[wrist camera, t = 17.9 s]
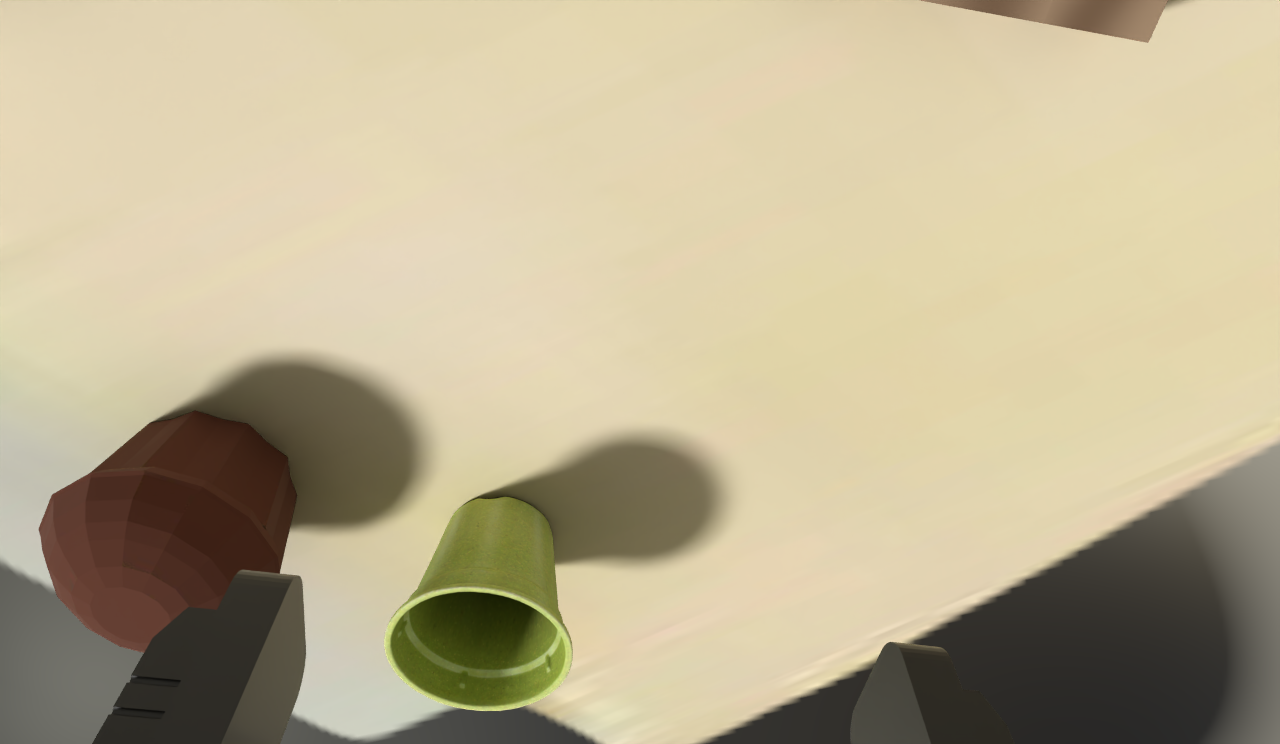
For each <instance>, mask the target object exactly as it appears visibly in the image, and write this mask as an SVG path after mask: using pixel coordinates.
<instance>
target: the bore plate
mask: <svg viewBox="0 0 1280 744" xmlns="http://www.w3.org/2000/svg"><path fill="white" fill-rule="evenodd" d="M921 1H926V2H932V3H937V4H942V5H948V6H953V7H959V8H964V9H969V10H975V11H980V12H986V13H991V14H996V15H1002V16H1007V17H1013V18H1018V19H1023V20H1029V21H1034V22H1039V23H1045V24H1050V25H1056V26H1061V27H1066V28H1072V29H1077V30H1083V31H1088V32H1093V33H1099V34H1104V35H1110V36H1115V37H1120V38H1126V39H1131V40H1136V41H1142V42H1147V43H1148V42H1149V40H1150V38H1151V36H1152V33H1153V31H1154V29H1155V27H1156V25H1157V23H1158V20H1159V18H1160V16H1161V14H1162V12H1163V10H1164V7H1165V5H1166V3H1167V1H1168V0H921Z"/></svg>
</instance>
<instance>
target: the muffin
mask: <svg viewBox="0 0 1280 744" xmlns="http://www.w3.org/2000/svg"><path fill="white" fill-rule="evenodd" d="M296 498H297V494H296V491H295V489H294V486H293V483H292V480H291V478H290V472H289V464H288V457H287V456H285V455H284V454H283V453H281V452H280V451H279V450H277V449H276V448H274V447H273V446H272V445H270V444H269V443H268V442H266V441H265V440H264V439H263V438H262V437H261V436H260V435H259V434H258V433H257V432H256V431H255V430H254V429H253V428H252V427H251V426H250V425H249V424H246V423H241V422H235V421H230V420H224V419H220V418H217V417H214V416H211V415H208V414H205V413H202V412H198V411H192V412H190V413H187V414H185V415H182V416H179V417H177V418H174V419H169V420H163V421H158V422H152V423H149V424H148V425H147V426H145V427H144V428H143V429H142V430H141V431H139V432H138V433H137V434H136V435H135V436H134V437H132V438H131V439H130V440H129V441H128V442H126V443H125V444H124V445H123V446H122V447H120V448H119V449H118V450H117V451H116V452H115V453H113V454H112V455H111V456H110V457H109V458H107V459H106V460H105V461H104V462H103V463H101V464H100V465H99V466H98V467H97V468H96V469H94V470H93V471H92V472H91V473H89V474H88V475H86V476H84V477H82V478H81V479H79V480H77V481H75V482H74V483H72V484H70V485H68V486H67V487H65V488H63V489H61V490H60V491H58V492H56V493H54V494H53V495H52V496H51V499H50V501H49V504H48V506H47V509H46V512H45V514H44V517H43V519H42V522H41V524H40V527H39V532H40V536H41V542H42V550H43V554H44V557H45V561H46V564H47V567H48V570H49V573H50V576H51V579H52V582H53V585H54V588H55V591H56V594H57V596H58V598H59V599H60V600H61V601H62V602H63V603H64V604H65V605H66V606H67V607H68V608H69V610H71V612H72V613H73V614H74V615H75V616H76V617H77V618H78V619H79V620H80V621H81V622H82V623H83V624H84V625H85V626H86V627H87V628H88V629H90V630H91V631H93V632H95V633H97V634H98V635H100V636H102V637H104V638H106V639H107V640H109V641H111V642H113V643H114V644H116V645H118V646H120V647H124V648H128V649H131V650H136V651H139V652H143V653H144V652H145V650H146V649H147V647H148V645H149V643H150V642H151V640H152V638H153V637H154V636H155V635H156V634H158V633H159V632H160V631H161V630H162V629H163V628H164V627H166V626H167V625H168V624H169V623H170V622H171V621H173V620H174V619H175V618H176V617H177V616H178V615H179V614H181V613H182V612H183V611H184V610H185V609H186V608H188V607H195V608H204V609H214V610H217V609H218V607H219V605H220V603H221V601H222V599H223V597H224V595H225V593H226V591H227V589H228V587H229V585H230V583H231V581H232V580H233V578H234V576H235V575H236V574H237V573H238V572H239V571H240V570H251V571H260V572H269V573H278V574H280V569H281V565H282V560H283V556H284V551H285V547H286V542H287V538H288V534H289V529H290V525H291V520H292V516H293V512H294V507H295V503H296Z"/></svg>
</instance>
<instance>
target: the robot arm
mask: <svg viewBox="0 0 1280 744" xmlns="http://www.w3.org/2000/svg"><path fill="white" fill-rule="evenodd" d="M305 658H306V642H305V623H304V604H303V586H302V580H301V577H300V576H297V575H288V574H278V573H269V572H260V571H251V570H240V571H239V572H238V573H237V574H236V575H235V576H234V578H233V580H232V581H231V583H230V585H229V587H228V589H227V591H226V593H225V595H224V597H223V599H222V601H221V603H220V605H219V607H218V609H217V610H214V609H204V608H195V607H188V608H186V609H185V610H184V611H183V612H182V613H181V614H179V615H178V616H177V617H176V618H175V619H174V620H173V621H171V622H170V623H169V624H168V625H167V626H166V627H164V628H163V629H162V630H161V631H160V632H159V633H158V634H156V635H155V636H154V637H153V638H152V640H151V642H150V643H149V645H148V647H147V649H146V650H145V652H144V654H143V656H142V657H141V659H140V661H139V663H138V664H137V666H136V668H135V670H134V671H133V673H132V675H131V680H130V682H129V683H127V684H126V685H125V687H124V689H123V691H122V692H121V694H120V696H119V698H118V700H117V701H116V703H115V705H114V708H113V712H112V714H111V715H108V717H107V719H106V721H105V722H104V724H103V726H102V727H101V729H100V731H99V733H98V734H97V736H96V738H95V740H94V742H93V743H92V744H280V743H281V740H282V738H283V735H284V732H285V730H286V727H287V724H288V721H289V719H290V716H291V713H292V711H293V708H294V705H295V703H296V700H297V697H298V694H299V690H300V686H301V682H302V678H303V673H304V667H305ZM851 744H1014V741H1013V739H1012V736H1011V734H1010V731H1009V729H1008V727H1007V725H1006V724H1005V722H1004V721H1003V720H1002V719H1001V717H1000V716H999V715H998V714H997V712H996V711H995V710H994V709H993V708H992V706H991V705H990V704H989V702H988V701H987V700H986V699H985V697H984V696H983V695H982V694H981V693H980V691H974V690H964V689H962V686H961V684H960V681H959V679H958V676H957V673H956V670H955V668H954V665H953V663H952V660H951V658H950V656H949V654H948V653H947V652H946V651H945V650H944V649H943V648H940V647H932V646H923V645H914V644H905V643H896V642H889V643H887V644H886V645H885V646H884V647H883V649H882V651H881V653H880V655H879V657H878V659H877V661H876V663H875V666H874V668H873V670H872V672H871V674H870V676H869V678H868V680H867V682H866V684H865V687H864V689H863V691H862V693H861V695H860V697H859V699H858V701H857V703H856V706H855V708H854V712H853V715H852V721H851Z"/></svg>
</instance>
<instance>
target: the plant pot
mask: <svg viewBox="0 0 1280 744" xmlns="http://www.w3.org/2000/svg"><path fill="white" fill-rule="evenodd" d="M384 645H385V652H386V657H387V659H388V662H389V663H390V665H391V667H392V669H393V670H394V671H395V673H396V674H397V675H398V676H399V677H400V678H401V679H402V680H403V681H404V682H405V683H406V684H407V685H409V686H410V687H411V688H413V689H414V690H415V691H417V692H419V693H421V694H423V695H425V696H426V697H428V698H430V699H433V700H435V701H437V702H439V703H443V704H445V705H449V706H452V707H456V708H464V709H469V710H479V711H489V710H492V711H501V710H508V709H514V708H519V707H522V706H525V705H529V704H531V703H534V702H536V701H539V700H541V699H543V698H545V697H546V696H548V695H549V694H551V693H552V692H553V691H555V690H556V689H557V688H558V687H559V686H560V685H561V684H562V682H563V681H564V680H565V678H566V676H567V675H568V673H569V670H570V667H571V664H572V654H573V649H572V642H571V638H570V635H569V633H568V631H567V628H566V627H565V625H564V624H563V620H562V617H561V614H560V612H559V610H558V600H557V587H556V575H555V562H554V548H553V536H552V532H551V529H550V526H549V523H548V521H547V519H546V518H545V517H544V516H543V515H542V514H541V512H539V511H538V510H537V509H536V508H534V507H533V506H531V505H529V504H527V503H525V502H523V501H521V500H518V499H515V498H511V497H501V498H496V499H480V498H479V499H475V500H472V501H470V502H468V503H466V504H464V505H463V506H462V507H460V508H459V509H458V510H457V511H456V512H455V513H454V515H453V516H452V518H451V520H450V522H449V524H448V526H447V528H446V530H445V532H444V534H443V536H442V539H441V541H440V543H439V545H438V547H437V549H436V551H435V553H434V556H433V558H432V560H431V562H430V564H429V566H428V568H427V570H426V572H425V574H424V576H423V578H422V580H421V582H420V584H419V587H418V589H417V590H416V591H415V592H414V593H413V594H412V595H411V597H410V598H409V599H408V601H407V602H406V603H404V604H403V605H402V606H401V607H400V608H399V609H398V610H397V611H396V613H395V614H394V615H393V617H392V618H391V620H390V622H389V624H388V627H387V630H386V633H385V637H384Z"/></svg>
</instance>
